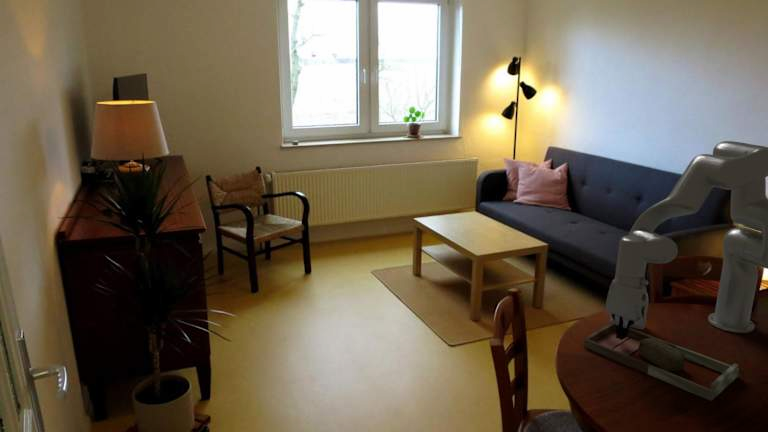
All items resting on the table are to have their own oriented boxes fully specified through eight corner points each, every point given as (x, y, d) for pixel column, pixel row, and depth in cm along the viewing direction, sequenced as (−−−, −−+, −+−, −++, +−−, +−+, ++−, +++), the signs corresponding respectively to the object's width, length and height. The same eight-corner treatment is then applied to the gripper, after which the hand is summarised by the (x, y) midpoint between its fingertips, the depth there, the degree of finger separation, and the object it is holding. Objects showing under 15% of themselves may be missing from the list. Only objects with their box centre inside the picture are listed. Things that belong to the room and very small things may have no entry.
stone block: (669, 375, 150) (671, 358, 149) (635, 354, 161) (637, 338, 159) (685, 370, 152) (688, 353, 151) (650, 350, 163) (652, 334, 162)
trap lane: (612, 329, 175) (613, 317, 174) (737, 376, 149) (740, 363, 148) (582, 346, 165) (583, 334, 164) (711, 401, 139) (713, 386, 137)
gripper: (661, 284, 155) (652, 343, 160) (611, 268, 166) (604, 324, 171) (648, 290, 151) (639, 351, 156) (597, 274, 162) (590, 332, 167)
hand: (621, 337), depth 164 cm, fingers closed
